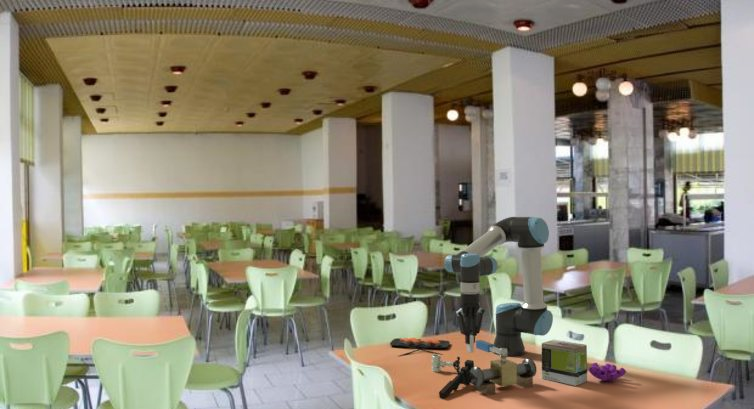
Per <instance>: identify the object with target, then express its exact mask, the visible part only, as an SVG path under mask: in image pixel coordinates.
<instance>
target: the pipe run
mask: <svg viewBox="0 0 754 409" xmlns="http://www.w3.org/2000/svg"><path fill="white" fill-rule="evenodd" d="M536 375H537V365H536V363H535V362H534V360H533V359H531V358H525V359H523V360H522V362H521V363H517V362H516V361H515V362H514V361H512V360H510V359H507V358H501V357H500V359H493V360H490V368H485V369H484V368H483V369H481V367H479V366H474V367H473V368H471V370H470V380H471V382H472V383H471V382H470V383H471V384H472V385H473V390H474V391H477V392H479V393H481V394H484V395H486V396H488V395H489V396H490V395H495V394H496V385H498V386H500V387H506V386H512V385H516V386H519V387H521V388H524V389H528V388H532V387H533V386H534V384H533V383H534V380H533V378H534V377H535V376H536Z"/></svg>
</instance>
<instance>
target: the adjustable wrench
mask: <svg viewBox="0 0 754 409" xmlns="http://www.w3.org/2000/svg"><path fill="white" fill-rule="evenodd" d="M473 367H475V363H474V360H472V359H466V360H465V361H464V366H462V367H460V369H459V370H460V371H458V372H457V375H456V376H455V377H454V378H453V379H452V380H449V381H448V382H447V384H446V385H444V386H443V387H442V389H440V391H439V392H438V395H439V398H440V399H447V397H448V396H449V395H450V394H452V392H453V391H456V390H458V389H459V386H460V385H470V384H472V382H471V380H470V370H471V368H473Z"/></svg>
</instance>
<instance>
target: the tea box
mask: <svg viewBox="0 0 754 409" xmlns="http://www.w3.org/2000/svg"><path fill="white" fill-rule="evenodd" d="M587 353H588V347H587V344H583V343H576V342H572V341H565V340H558V339H551V340H548V341H544V342H541V379H544V380H548V381H552V382H558V383H561V384H566V385H571V386H574V387H576V386H580V385H581V384H584V383H586V382H588V381H587V380H588V354H587Z"/></svg>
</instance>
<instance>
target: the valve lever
mask: <svg viewBox="0 0 754 409" xmlns="http://www.w3.org/2000/svg"><path fill="white" fill-rule="evenodd" d="M475 343H476V344H475V348H476V349H477V350H481V351H483V352H486V353H493V352H494V353H493V354H495V353H497V354H496V355H498V356H499V357H500V359H501V358H506V359H507V358H508V356H507V349H506V348H500V349H499V348H496V347H494V346H493V344H494V343H490V342H488V341H486V340H482V339H480V340H478V339H477V340H475Z"/></svg>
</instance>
